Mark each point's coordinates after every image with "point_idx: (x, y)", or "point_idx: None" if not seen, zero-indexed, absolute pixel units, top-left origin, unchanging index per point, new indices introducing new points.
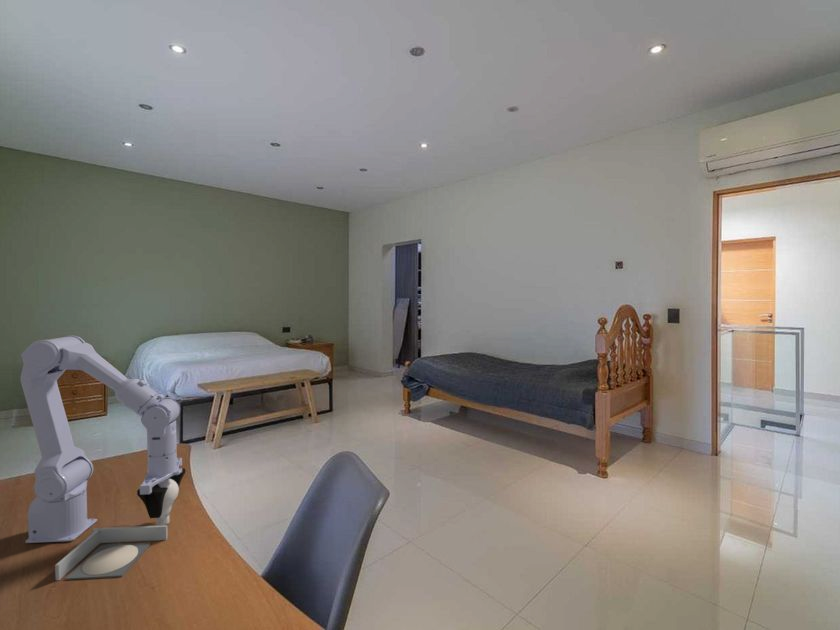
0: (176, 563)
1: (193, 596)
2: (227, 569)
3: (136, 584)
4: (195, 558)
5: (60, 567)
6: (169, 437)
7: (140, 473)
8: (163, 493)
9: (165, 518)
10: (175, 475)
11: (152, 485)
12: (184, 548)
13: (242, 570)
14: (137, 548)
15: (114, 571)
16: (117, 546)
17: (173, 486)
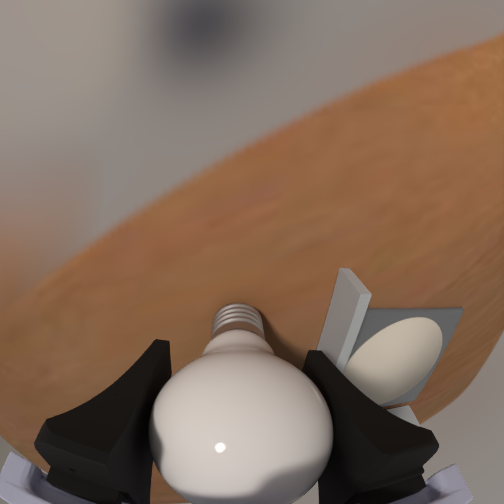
0: (469, 192)
1: None
2: (496, 65)
3: (493, 262)
4: (464, 140)
5: (414, 422)
6: None
7: (7, 409)
8: (409, 433)
9: (256, 326)
10: (126, 470)
11: (450, 500)
12: (417, 185)
13: (496, 38)
14: (374, 333)
15: (445, 332)
16: None
17: (276, 438)
